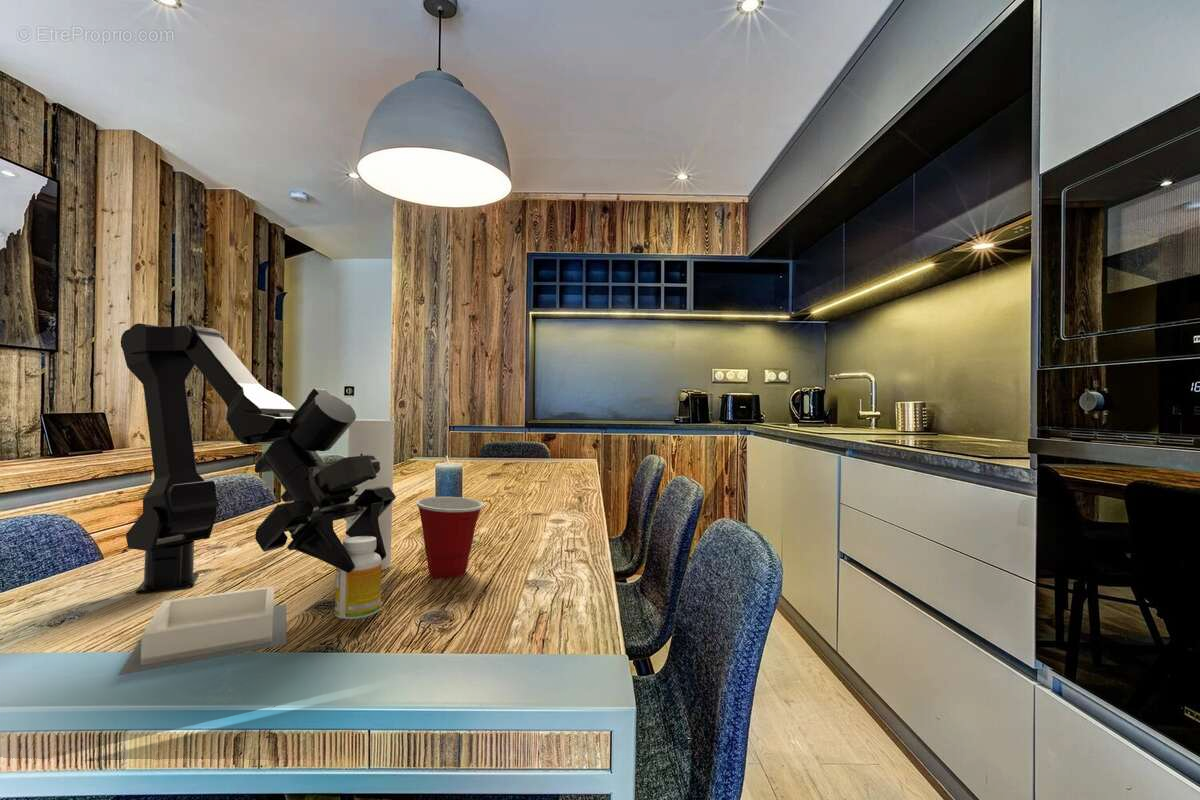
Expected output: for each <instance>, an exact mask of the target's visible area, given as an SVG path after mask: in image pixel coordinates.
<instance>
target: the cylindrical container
mask: <svg viewBox="0 0 1200 800" xmlns="http://www.w3.org/2000/svg"><path fill="white" fill-rule="evenodd" d="M347 445H348V448H347V457H353V456H361V455H360V454H361V453H369V452H370V453H371V454H372V455H373V456H374V457H375V458H376V459H377V460H378V461H379V462H380V465H379V466H380V471H379V472H378V473H376V476H377V477H376V478H374V479H372V480H370V479H369V480H367V481H365V482H363V483H361V484H359V485H357V486H356V487H357V489H358V491H357V492H356V493H355V494H354V495H353V496H350V498H349V500H350V502H351V501H355V500H356V499H357V498H358V497H359V496H360V495H361V493H362V492H363V491H364V490H365V489H369V488H375V487H381V486H384V487H389V488H390V489H391V491H392V492H393V490H394V489H393V488H394V454H395V453H394V452H395V451H394V450H395V449H394V448H395V447H394V446H395V420H394V419H355V421H354V422H353V423H352V424H351V425H350V427H349V428H348V444H347ZM378 522H379V528H380V532H381V536H382V540H383V544H384V548H385V552H386V557H385V558H384V559H383V560H382V561H381V562H382V566H381V571H385V570H388V569H389V568H390V567H391V566H392V532H393V531H392V526H393V523H392V522H393V502H392V503H391V504H390V505H389V506H388V507H387V508H386V509H385V511H384V512H383V513H382V514H381V515H380V516H379V517H378ZM349 528H350V525H349V524H348V522H347V521H346V520H345V532H346V531H347V530H348V529H349ZM347 538H351V537H349V536H348V535H347V534H346V533H345V539H347ZM390 565H391V566H390ZM388 567H389V568H388ZM387 568H388V569H387ZM384 569H385V570H384Z"/></svg>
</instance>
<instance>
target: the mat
mask: <svg viewBox="0 0 1200 800" xmlns="http://www.w3.org/2000/svg"><path fill="white" fill-rule="evenodd" d="M287 636H288V635H287V604H280V605H274V611H273V631H272V642H268V643H262V644H257V645H251V646H245V647H240V648H234V649H229V650H223V651H217V652H212V653H206V654H201V655H195V656H189V657H184V658H178V659H172V660H167V661H161V662H156V663H150V664H144V665H141V640H142V637H141V638H140V639H139V641H138V643H137V644H136V645H135V646H134V649H133V651H132V652H131V654H130V655H129V656H128V658H127V659H126V662H125V663H124V665H123V666H122V668H121V669H120V671H119V672H118V674H117V675H118V676H122V675H127V674H131V673H137V672H142V671H148V670H154V669H158V668H163V667H165V668H166V667H169V666H170V667H171V666H175V665H176V666H177V665H181V664H185V663H192V662H198V661H201V660H202V661H203V660H208V659H214V658H219V657H225V656H230V655H234V654H235V655H236V654H241V653H246V652H252V651H253V652H254V651H257V650H262V649H269V648H273V647H278V646H284V645H287V643H288V642H287Z"/></svg>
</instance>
